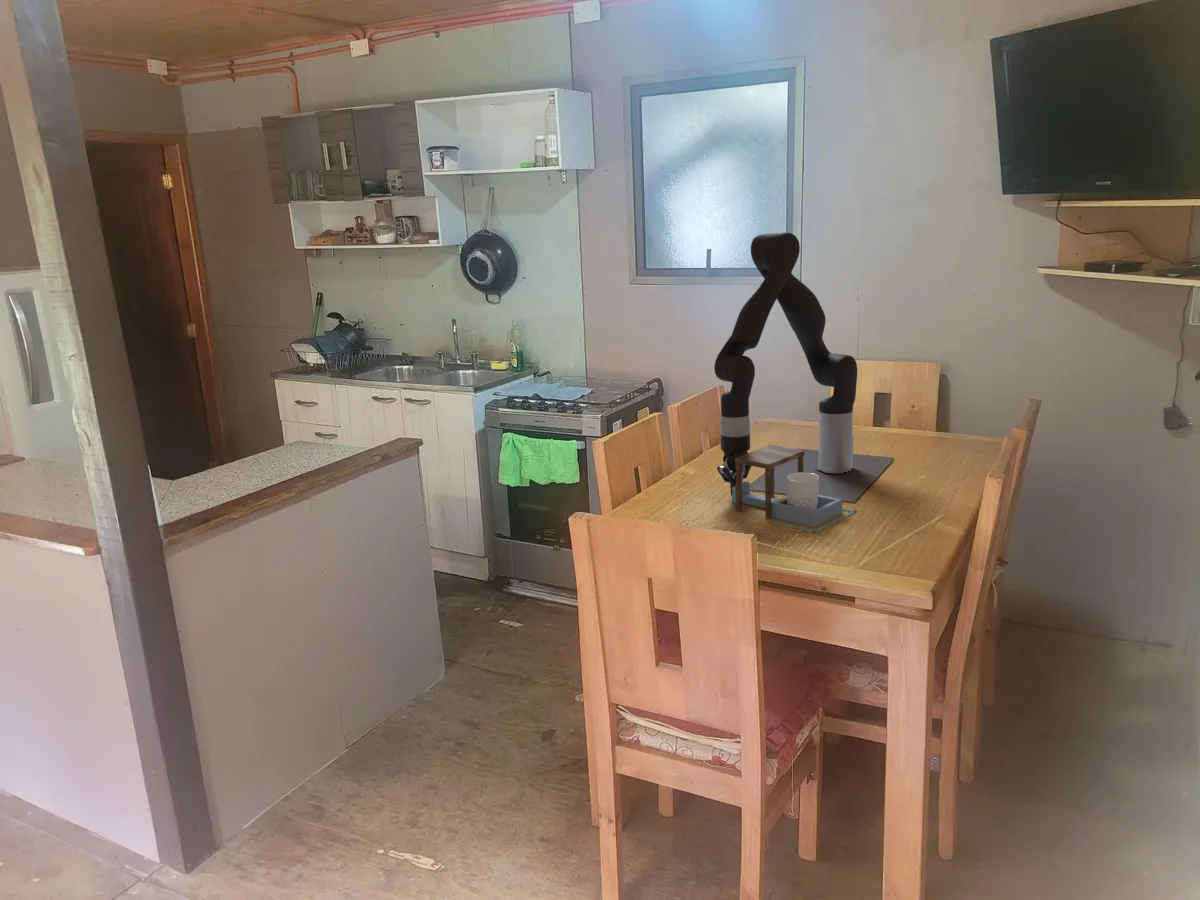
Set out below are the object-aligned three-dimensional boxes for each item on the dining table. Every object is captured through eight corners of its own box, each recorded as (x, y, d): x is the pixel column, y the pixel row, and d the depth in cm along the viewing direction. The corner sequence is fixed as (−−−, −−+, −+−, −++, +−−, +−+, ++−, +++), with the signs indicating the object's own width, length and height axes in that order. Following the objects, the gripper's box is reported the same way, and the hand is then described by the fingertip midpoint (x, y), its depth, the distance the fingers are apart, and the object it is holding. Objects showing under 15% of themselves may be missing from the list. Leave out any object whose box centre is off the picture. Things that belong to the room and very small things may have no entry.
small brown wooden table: (771, 497, 227) (770, 444, 224) (803, 504, 220) (804, 450, 217) (735, 512, 217) (734, 458, 214) (768, 520, 210) (768, 464, 207)
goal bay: (815, 504, 220) (815, 502, 220) (856, 513, 212) (856, 511, 212) (773, 524, 208) (773, 522, 207) (815, 534, 200) (815, 532, 199)
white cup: (819, 511, 215) (820, 472, 212) (817, 522, 208) (817, 482, 205) (787, 509, 217) (787, 471, 215) (784, 520, 210) (784, 480, 207)
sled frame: (753, 494, 230) (753, 478, 228) (842, 513, 211) (842, 496, 210) (724, 505, 221) (724, 489, 220) (814, 527, 203) (814, 509, 202)
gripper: (731, 439, 215) (732, 505, 219) (762, 428, 223) (762, 492, 228) (707, 435, 220) (708, 500, 224) (739, 424, 229) (739, 487, 233)
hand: (736, 496), depth 226 cm, fingers closed
